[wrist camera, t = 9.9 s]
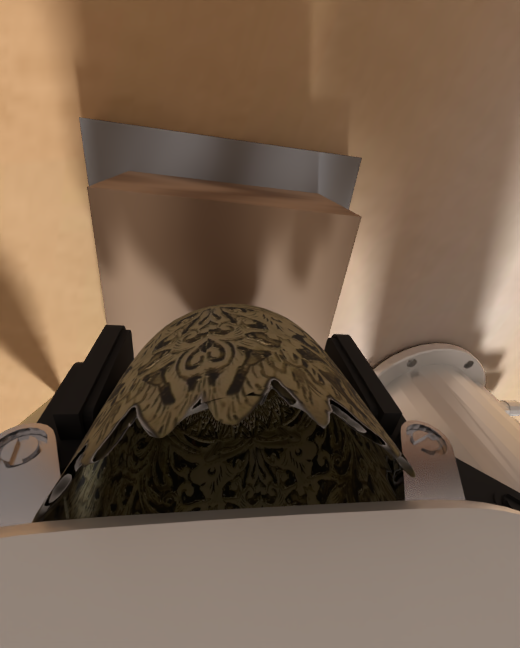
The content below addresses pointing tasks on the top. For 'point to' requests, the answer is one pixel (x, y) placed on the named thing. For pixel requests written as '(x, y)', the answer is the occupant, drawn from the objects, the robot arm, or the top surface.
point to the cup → (229, 426)
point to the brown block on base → (216, 226)
